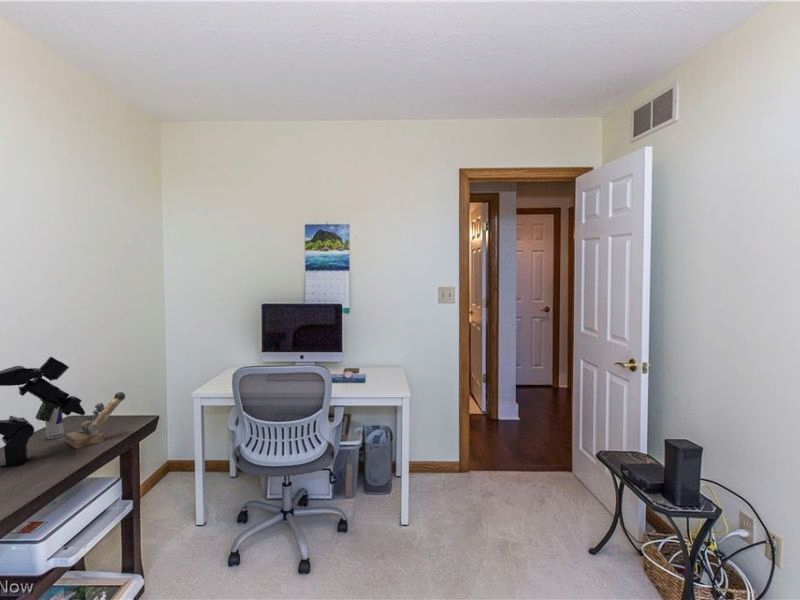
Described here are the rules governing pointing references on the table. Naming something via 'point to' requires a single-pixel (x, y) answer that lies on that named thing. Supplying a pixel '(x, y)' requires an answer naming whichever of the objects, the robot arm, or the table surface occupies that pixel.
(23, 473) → the table surface
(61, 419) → the energy drink
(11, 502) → the table surface
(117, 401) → the lever
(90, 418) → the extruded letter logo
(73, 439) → the press bench
